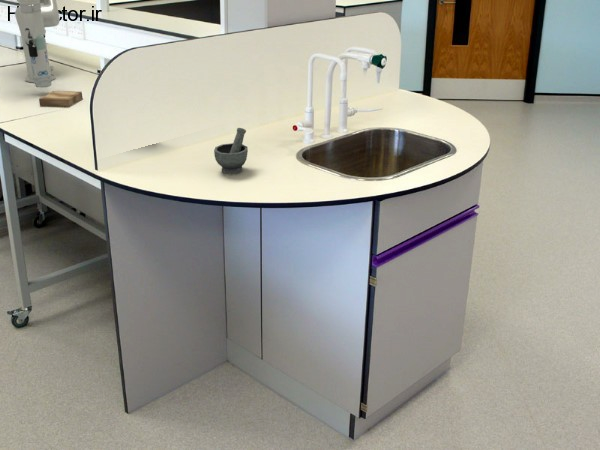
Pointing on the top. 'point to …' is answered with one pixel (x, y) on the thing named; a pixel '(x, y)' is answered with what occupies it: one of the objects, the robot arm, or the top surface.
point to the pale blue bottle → (40, 64)
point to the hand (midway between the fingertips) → (38, 54)
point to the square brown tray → (60, 99)
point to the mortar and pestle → (232, 154)
